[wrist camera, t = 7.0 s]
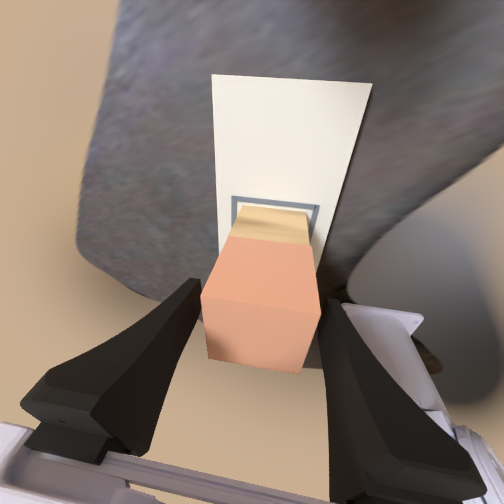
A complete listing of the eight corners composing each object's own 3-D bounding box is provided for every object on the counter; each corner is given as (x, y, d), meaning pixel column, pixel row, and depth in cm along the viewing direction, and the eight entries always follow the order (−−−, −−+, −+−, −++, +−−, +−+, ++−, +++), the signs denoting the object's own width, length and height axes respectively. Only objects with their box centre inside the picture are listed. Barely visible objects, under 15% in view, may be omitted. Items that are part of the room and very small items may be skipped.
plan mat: (315, 269, 21) (315, 274, 20) (221, 257, 21) (219, 261, 21) (369, 84, 12) (373, 83, 12) (214, 75, 13) (211, 74, 13)
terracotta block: (297, 303, 16) (299, 374, 11) (229, 293, 16) (208, 358, 12) (311, 245, 13) (321, 314, 9) (228, 235, 13) (200, 295, 9)
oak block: (294, 262, 20) (295, 304, 16) (241, 255, 20) (228, 294, 16) (305, 212, 17) (310, 247, 13) (242, 204, 17) (227, 236, 13)
